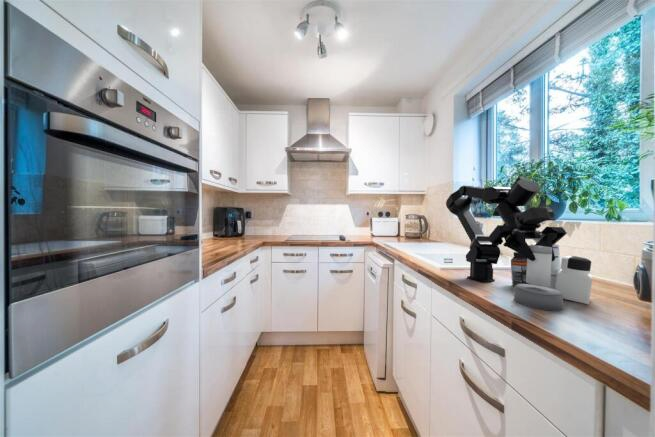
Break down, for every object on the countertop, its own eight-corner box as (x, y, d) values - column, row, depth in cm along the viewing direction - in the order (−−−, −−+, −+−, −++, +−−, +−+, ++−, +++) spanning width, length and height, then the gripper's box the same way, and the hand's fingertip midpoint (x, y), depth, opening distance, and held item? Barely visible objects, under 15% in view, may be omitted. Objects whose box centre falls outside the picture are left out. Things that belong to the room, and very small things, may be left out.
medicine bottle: (588, 299, 73) (594, 258, 73) (588, 305, 68) (595, 261, 67) (555, 291, 78) (560, 253, 78) (553, 296, 73) (558, 255, 73)
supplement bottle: (523, 284, 87) (521, 251, 88) (539, 288, 81) (537, 252, 82) (507, 285, 86) (505, 251, 87) (522, 288, 81) (520, 253, 81)
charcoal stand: (505, 299, 71) (506, 285, 71) (528, 295, 75) (529, 282, 75) (547, 312, 62) (548, 296, 62) (571, 308, 65) (572, 292, 65)
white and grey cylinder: (521, 281, 70) (523, 245, 69) (533, 280, 71) (535, 245, 71) (542, 287, 65) (544, 248, 65) (554, 285, 67) (556, 247, 66)
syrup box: (563, 292, 76) (560, 244, 77) (539, 291, 79) (536, 244, 79) (554, 288, 82) (552, 242, 82) (532, 287, 84) (529, 242, 84)
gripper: (497, 196, 71) (528, 240, 60) (562, 198, 72) (603, 242, 61) (478, 223, 79) (502, 266, 69) (536, 224, 80) (569, 267, 69)
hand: (543, 260), depth 67 cm, fingers closed on white and grey cylinder, 5 cm apart
